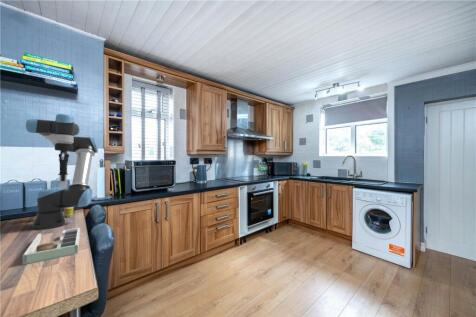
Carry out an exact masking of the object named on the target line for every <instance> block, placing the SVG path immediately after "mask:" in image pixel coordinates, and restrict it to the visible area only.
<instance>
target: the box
mask: <svg viewBox="0 0 476 317" xmlns="http://www.w3.org/2000/svg"><path fill="white" fill-rule="evenodd" d="M61 233H62V234H61V236H60V238H59V243H57V246H56V248H54V249H51V250H46V251H40V252H36V251H35V250H36V249H37V246H39V245H40V243H41V240H42V233H38V234H37V235H36V237H35V238H34V239H33V241H32V242H31V243H30V244H29V246H28V248H27V249H26V250H25V252H24V253H23V255H22V265H23V266H24V265H28V264H33V262H34V263H38V262H43V261H49V260H51V259H57V258H62V256H63V257H67V256H71V255H70V254H72V255H76V254H75V253H77V254H78V252H79V245H80V244H79V243H80V235H81V227H75V228H69V229H63V230H62V232H61ZM66 255H67V256H66Z"/></svg>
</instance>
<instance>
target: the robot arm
mask: <svg viewBox="0 0 476 317" xmlns="http://www.w3.org/2000/svg"><path fill="white" fill-rule="evenodd" d="M25 129H26V131H27V132H28V133H32V134H39V135H40V136H42V137H43V138H45V139H46V140H48V141H49V142H51V143H52V145H53V146H54V151H58V152H59V151H60V153H58V162H59V173H58V174H57V175H58V176H59V187H53V188H47V189H41V190H39V192H37V198H36V200H37V201H36V203H37V205H36V216H35V218H34V220H33V223H32V224H31V228H32V229H33V230H47V229H53V228H54V229H55V228H57V227H62V226H64V225H65V224H66V221H67V220H66V218H65V217H64V212H63V209H64V208H69V207H74V208H81V207H87V206H88V205H90V203H91V201H92V197H93V189H92V188H91V186H90V185H89V179H90V172H91V166H92V159H93V157H94V156H95V154H97V153H99V146H98V145H99V144H98V140H97V138H95V137H90V136H77V135H79V134H80V133H81V128H80V126H79V125H78V124H77V123H75V117H74V116H73V115H71V114H66V113H64V114H63V113H57V114H56V116H55V119H54V120H47V119H38V118H35V119H34V118H33V119H31V118H29V119H27V120H26V122H25ZM68 152H69V153H75V154H76V156H77V157H76V162H75V167H74V171H73V176H72V177H73V178H72V183H71V184H69V186H68V188H67V180H68V179H67V178H68V176H69V173H68V163H69V158H70V154H69V153H68ZM64 188H67V189H64Z"/></svg>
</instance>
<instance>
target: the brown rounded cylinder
mask: <svg viewBox="0 0 476 317" xmlns="http://www.w3.org/2000/svg"><path fill="white" fill-rule="evenodd" d="M51 249H55V243H54V242H47V243H43V244H38V246H37V247H36V249H35V250H36V251H35V252H40V251H46V250H51Z"/></svg>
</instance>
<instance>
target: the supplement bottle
mask: <svg viewBox="0 0 476 317" xmlns="http://www.w3.org/2000/svg"><path fill="white" fill-rule="evenodd" d="M74 210H75V207H69V208H63V215H64V217H69V218H73V217H74ZM72 216H73V217H72Z"/></svg>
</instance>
